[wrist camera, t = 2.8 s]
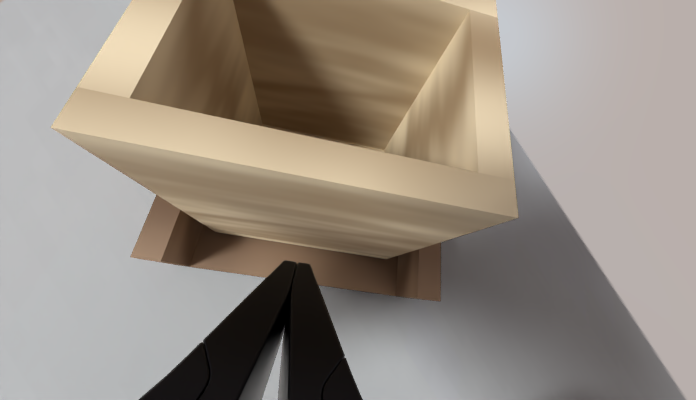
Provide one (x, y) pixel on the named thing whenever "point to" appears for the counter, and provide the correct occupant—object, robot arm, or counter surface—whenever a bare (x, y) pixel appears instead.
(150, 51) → the crate
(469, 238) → the counter surface
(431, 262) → the bay
